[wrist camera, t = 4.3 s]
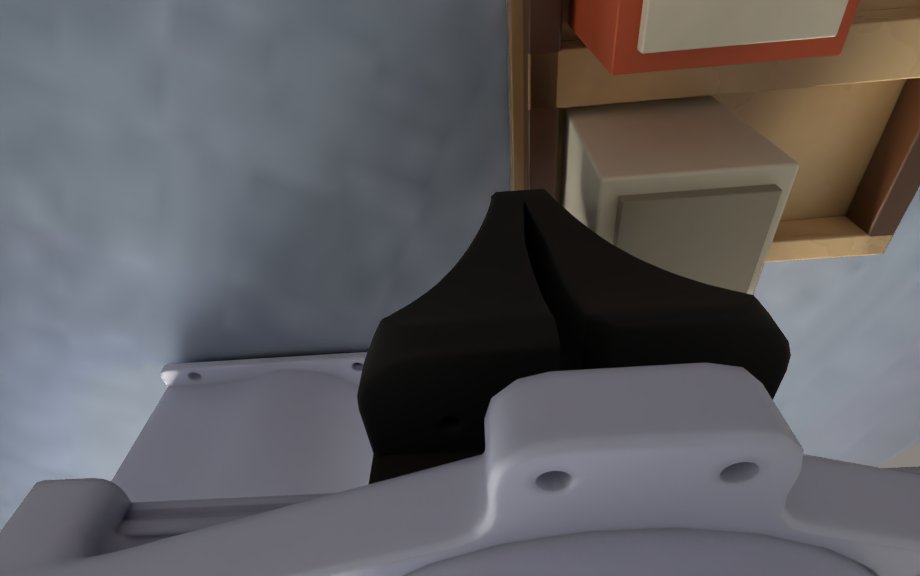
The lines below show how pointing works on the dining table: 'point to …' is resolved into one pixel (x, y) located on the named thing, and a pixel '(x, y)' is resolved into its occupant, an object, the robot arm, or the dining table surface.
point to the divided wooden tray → (752, 118)
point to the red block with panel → (708, 31)
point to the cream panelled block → (677, 186)
